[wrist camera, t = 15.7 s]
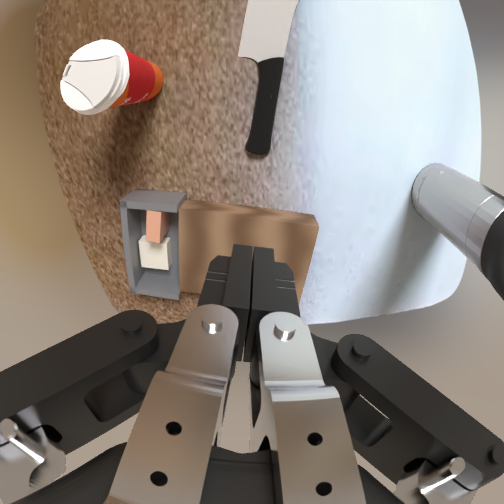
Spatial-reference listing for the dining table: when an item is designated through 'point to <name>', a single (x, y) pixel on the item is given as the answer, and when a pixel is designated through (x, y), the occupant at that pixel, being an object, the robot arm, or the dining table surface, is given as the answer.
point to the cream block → (155, 253)
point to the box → (135, 228)
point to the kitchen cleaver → (266, 62)
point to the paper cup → (108, 78)
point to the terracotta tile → (157, 225)
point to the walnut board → (241, 238)
